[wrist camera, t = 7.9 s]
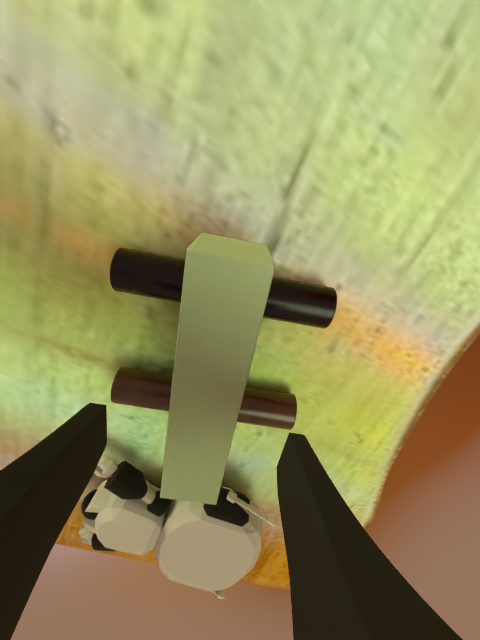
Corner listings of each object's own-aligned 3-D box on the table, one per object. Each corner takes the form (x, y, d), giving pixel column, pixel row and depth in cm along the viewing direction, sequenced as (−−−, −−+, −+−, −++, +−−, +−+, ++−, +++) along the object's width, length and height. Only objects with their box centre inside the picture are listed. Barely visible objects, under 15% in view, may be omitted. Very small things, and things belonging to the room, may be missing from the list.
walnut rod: (124, 386, 20) (110, 410, 18) (125, 359, 19) (110, 381, 17) (284, 412, 21) (289, 437, 19) (293, 387, 20) (299, 411, 18)
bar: (221, 446, 19) (216, 505, 16) (175, 439, 19) (159, 497, 16) (267, 245, 14) (275, 265, 10) (201, 232, 13) (186, 248, 10)
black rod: (126, 283, 17) (109, 296, 15) (127, 243, 16) (109, 252, 14) (317, 317, 18) (327, 335, 16) (329, 282, 17) (341, 296, 15)
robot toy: (93, 508, 28) (234, 552, 29) (62, 562, 24) (228, 611, 25) (112, 422, 23) (282, 478, 24) (79, 471, 19) (285, 537, 20)
